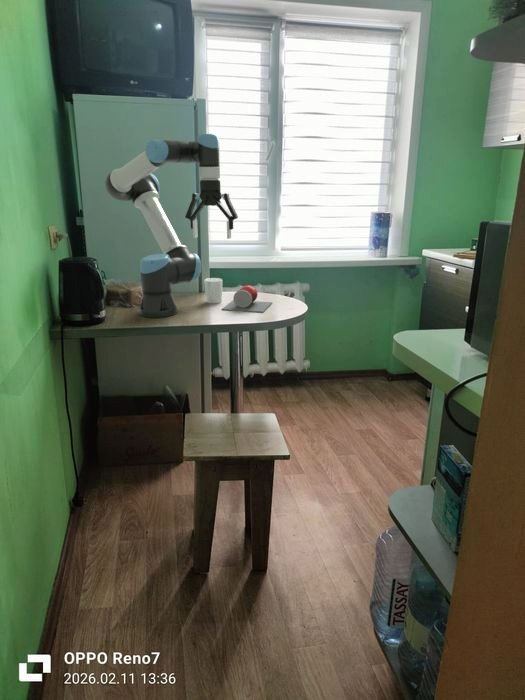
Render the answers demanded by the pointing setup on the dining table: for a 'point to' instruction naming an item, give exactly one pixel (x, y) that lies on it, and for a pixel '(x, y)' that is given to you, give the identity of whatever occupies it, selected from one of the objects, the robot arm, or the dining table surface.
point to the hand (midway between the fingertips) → (212, 238)
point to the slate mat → (253, 307)
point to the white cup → (213, 290)
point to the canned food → (245, 296)
